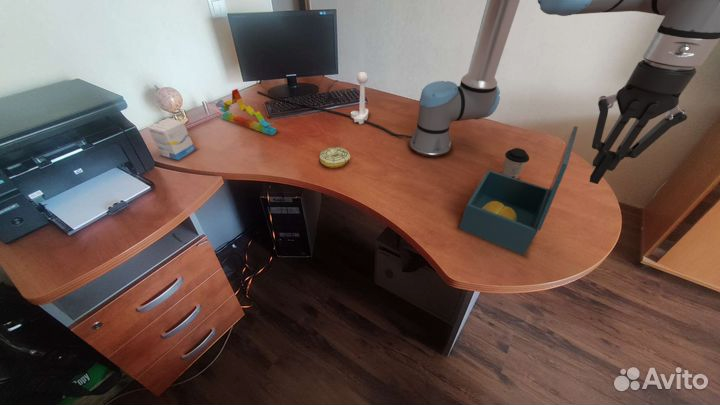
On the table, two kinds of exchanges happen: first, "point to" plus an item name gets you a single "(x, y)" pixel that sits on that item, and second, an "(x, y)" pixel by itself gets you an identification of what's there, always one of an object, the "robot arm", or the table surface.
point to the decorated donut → (334, 157)
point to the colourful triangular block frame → (261, 126)
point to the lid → (557, 177)
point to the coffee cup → (514, 162)
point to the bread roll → (500, 210)
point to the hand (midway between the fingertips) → (593, 179)
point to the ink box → (172, 138)
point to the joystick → (361, 100)
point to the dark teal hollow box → (511, 194)
